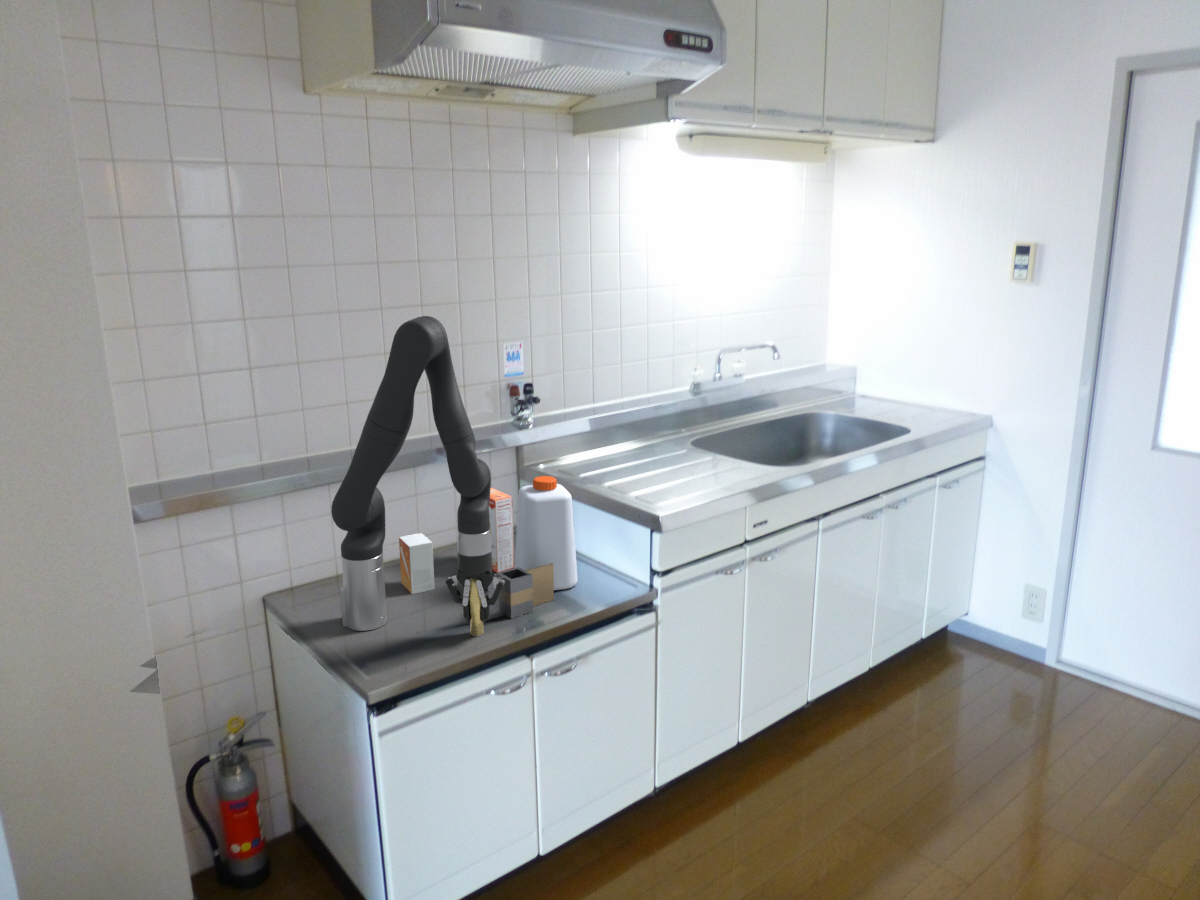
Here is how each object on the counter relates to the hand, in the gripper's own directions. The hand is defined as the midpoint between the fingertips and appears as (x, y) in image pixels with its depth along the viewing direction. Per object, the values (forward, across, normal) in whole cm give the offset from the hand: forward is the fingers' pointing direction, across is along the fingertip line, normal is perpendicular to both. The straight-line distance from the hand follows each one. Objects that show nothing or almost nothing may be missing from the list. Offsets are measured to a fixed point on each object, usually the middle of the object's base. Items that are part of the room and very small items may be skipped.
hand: (476, 619), depth 197 cm
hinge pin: (+3, 0, 0) cm, 3 cm away
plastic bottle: (+4, +10, +32) cm, 34 cm away
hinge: (+3, +6, +13) cm, 15 cm away
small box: (+4, -22, +24) cm, 33 cm away
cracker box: (+4, -7, +42) cm, 43 cm away
